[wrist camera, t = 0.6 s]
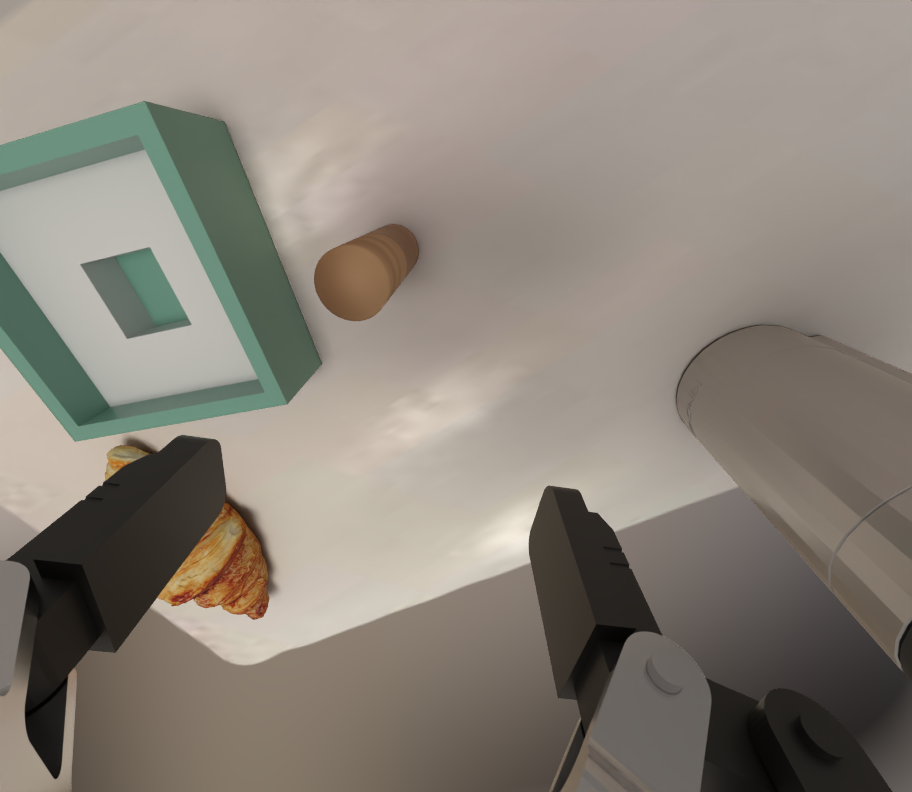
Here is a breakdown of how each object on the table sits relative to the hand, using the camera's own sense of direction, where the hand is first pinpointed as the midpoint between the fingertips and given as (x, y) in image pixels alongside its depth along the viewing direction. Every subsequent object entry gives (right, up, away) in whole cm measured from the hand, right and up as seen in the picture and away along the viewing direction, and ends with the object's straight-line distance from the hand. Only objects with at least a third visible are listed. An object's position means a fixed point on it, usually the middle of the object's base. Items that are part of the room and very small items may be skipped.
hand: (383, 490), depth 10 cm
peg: (-2, +12, +15) cm, 19 cm away
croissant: (-21, -10, +28) cm, 36 cm away
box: (-17, +10, +17) cm, 26 cm away
